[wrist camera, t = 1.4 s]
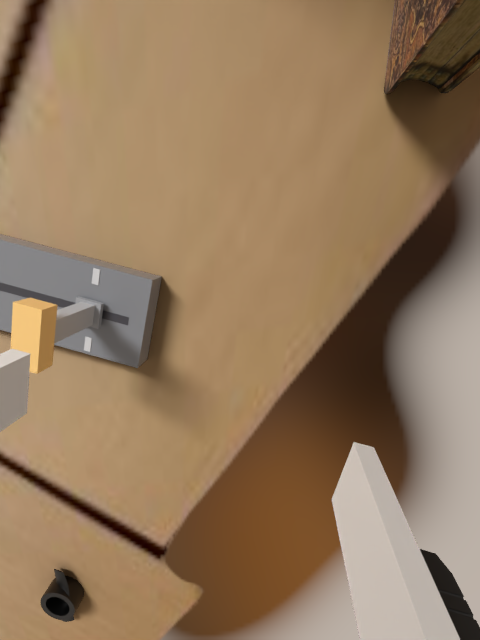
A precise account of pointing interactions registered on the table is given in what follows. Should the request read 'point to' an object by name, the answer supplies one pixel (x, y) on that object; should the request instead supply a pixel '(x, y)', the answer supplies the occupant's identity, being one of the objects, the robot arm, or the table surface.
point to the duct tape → (62, 597)
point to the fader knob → (49, 326)
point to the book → (433, 42)
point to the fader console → (88, 282)
